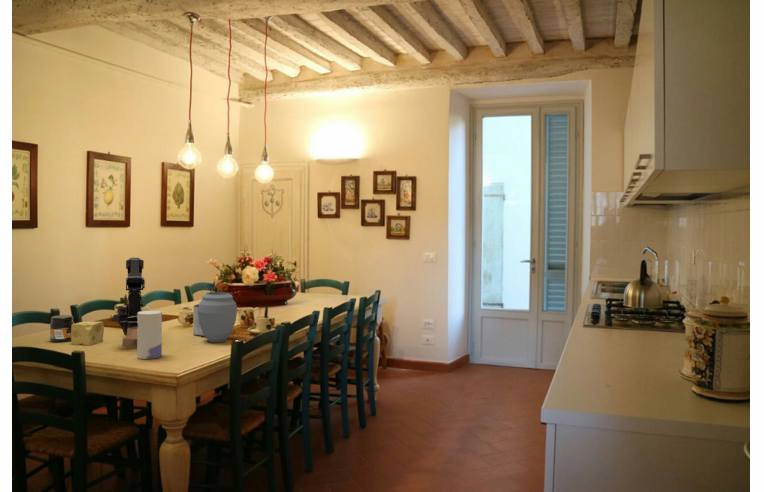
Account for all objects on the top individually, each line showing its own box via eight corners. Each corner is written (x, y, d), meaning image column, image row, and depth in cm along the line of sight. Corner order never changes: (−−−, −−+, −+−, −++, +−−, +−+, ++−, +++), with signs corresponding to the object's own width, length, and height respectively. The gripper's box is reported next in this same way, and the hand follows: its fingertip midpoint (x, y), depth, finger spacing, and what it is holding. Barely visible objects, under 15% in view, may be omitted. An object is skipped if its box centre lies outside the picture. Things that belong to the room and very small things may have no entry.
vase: (244, 339, 295) (245, 292, 294) (222, 346, 276) (222, 296, 275) (212, 336, 301) (213, 290, 300) (188, 342, 283) (189, 294, 282)
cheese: (89, 345, 272) (89, 325, 272) (69, 344, 274) (69, 323, 274) (104, 341, 282) (104, 321, 282) (85, 340, 284) (85, 320, 284)
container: (141, 354, 257) (141, 310, 256) (164, 354, 258) (164, 310, 257) (133, 359, 247) (134, 313, 246) (157, 359, 248) (157, 313, 247)
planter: (186, 335, 302) (186, 306, 301) (206, 330, 317) (206, 302, 316) (210, 338, 296) (211, 308, 295) (230, 332, 311) (230, 304, 310)
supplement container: (57, 343, 275) (57, 319, 274) (45, 341, 280) (45, 316, 280) (78, 340, 284) (78, 316, 283) (67, 337, 289) (67, 314, 289)
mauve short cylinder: (139, 344, 278) (139, 335, 278) (146, 347, 273) (146, 338, 273) (122, 346, 273) (122, 338, 273) (129, 349, 267) (129, 340, 267)
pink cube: (136, 336, 276) (136, 326, 276) (142, 338, 273) (142, 327, 273) (126, 338, 272) (126, 327, 272) (132, 339, 269) (132, 329, 269)
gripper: (142, 298, 284) (142, 329, 285) (106, 301, 269) (106, 334, 269) (155, 300, 278) (155, 331, 278) (119, 304, 262) (119, 337, 263)
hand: (134, 333), depth 273 cm, fingers open, 9 cm apart
